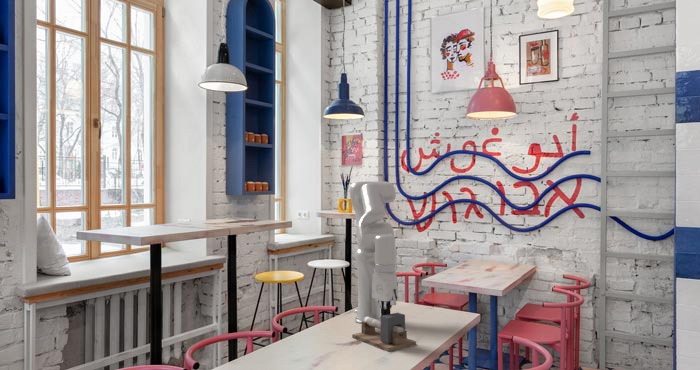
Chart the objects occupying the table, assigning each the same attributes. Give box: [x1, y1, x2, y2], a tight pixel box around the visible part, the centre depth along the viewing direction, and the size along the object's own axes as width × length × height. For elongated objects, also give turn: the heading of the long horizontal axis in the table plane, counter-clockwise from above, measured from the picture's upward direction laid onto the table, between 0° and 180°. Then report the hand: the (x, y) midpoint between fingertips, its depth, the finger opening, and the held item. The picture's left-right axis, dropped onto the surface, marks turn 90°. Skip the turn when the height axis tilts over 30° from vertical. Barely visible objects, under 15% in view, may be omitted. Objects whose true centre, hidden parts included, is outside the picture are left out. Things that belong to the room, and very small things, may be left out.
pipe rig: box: [351, 317, 417, 353], centre depth 183 cm, size 21×13×7 cm, turn 35°
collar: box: [381, 312, 406, 344], centre depth 179 cm, size 4×8×9 cm, turn 125°
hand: (385, 319), depth 182 cm, fingers closed
